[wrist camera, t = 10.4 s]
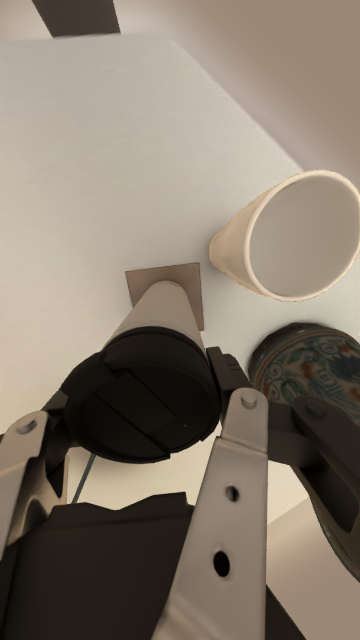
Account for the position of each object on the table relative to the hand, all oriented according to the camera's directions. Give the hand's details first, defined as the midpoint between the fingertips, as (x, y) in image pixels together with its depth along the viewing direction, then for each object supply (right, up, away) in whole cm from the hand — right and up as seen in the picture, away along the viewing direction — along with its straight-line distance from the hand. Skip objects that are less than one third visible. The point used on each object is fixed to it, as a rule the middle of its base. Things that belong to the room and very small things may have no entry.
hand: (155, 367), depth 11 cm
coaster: (0, +5, +15) cm, 16 cm away
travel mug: (-1, +6, +15) cm, 16 cm away
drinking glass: (+8, +12, +13) cm, 20 cm away
